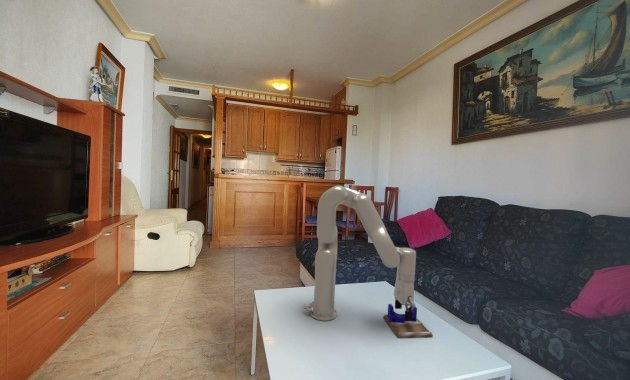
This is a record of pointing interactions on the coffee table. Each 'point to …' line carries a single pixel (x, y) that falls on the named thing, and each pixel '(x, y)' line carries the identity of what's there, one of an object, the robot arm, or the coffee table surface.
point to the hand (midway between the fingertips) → (403, 314)
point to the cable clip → (399, 315)
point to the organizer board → (408, 329)
